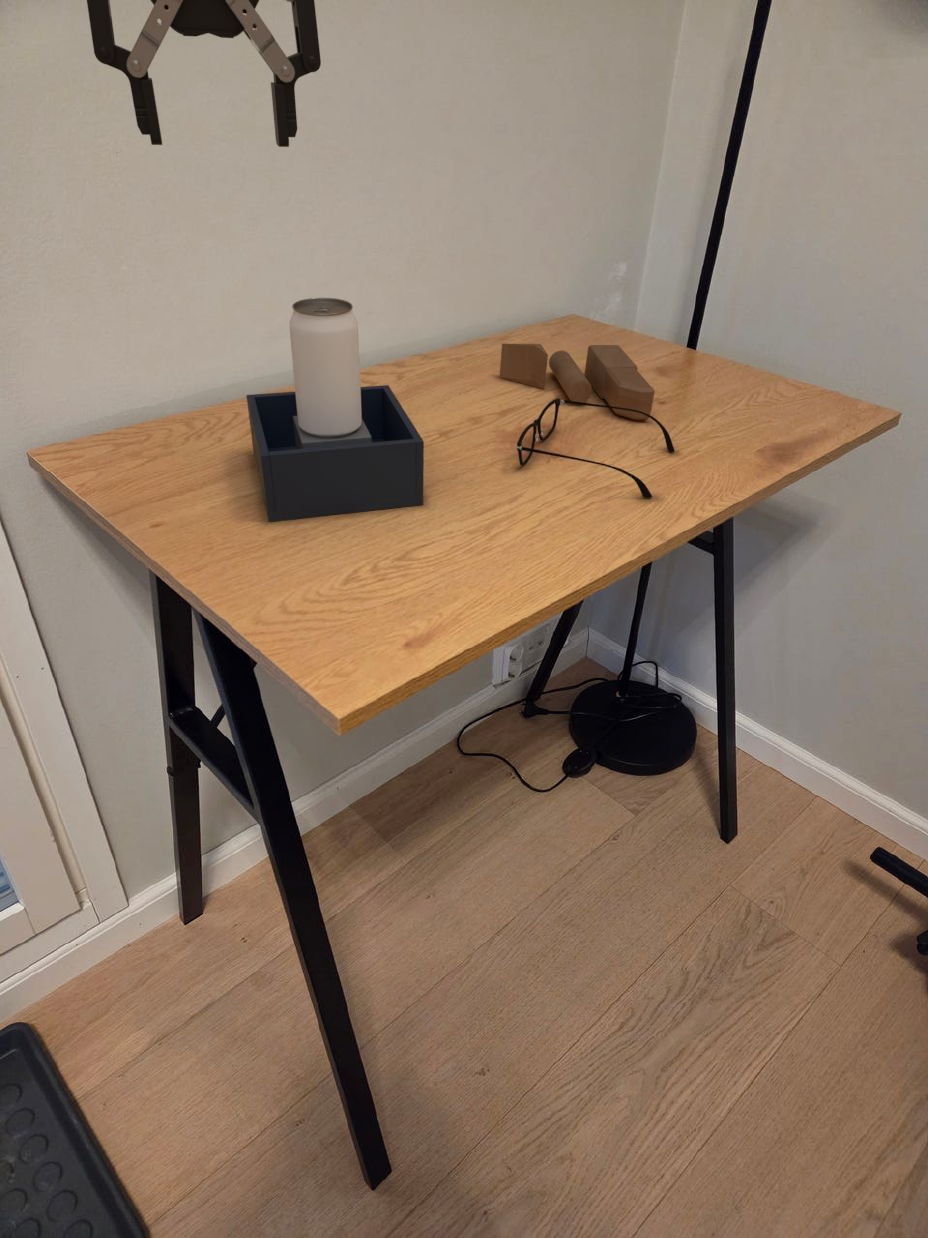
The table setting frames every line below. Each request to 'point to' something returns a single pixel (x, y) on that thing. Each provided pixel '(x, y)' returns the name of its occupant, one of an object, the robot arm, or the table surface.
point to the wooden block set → (603, 371)
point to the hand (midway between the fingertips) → (221, 144)
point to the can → (326, 367)
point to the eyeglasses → (537, 424)
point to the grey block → (310, 441)
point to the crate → (336, 460)
